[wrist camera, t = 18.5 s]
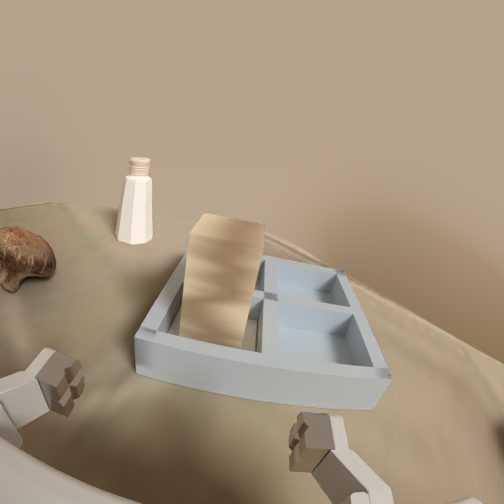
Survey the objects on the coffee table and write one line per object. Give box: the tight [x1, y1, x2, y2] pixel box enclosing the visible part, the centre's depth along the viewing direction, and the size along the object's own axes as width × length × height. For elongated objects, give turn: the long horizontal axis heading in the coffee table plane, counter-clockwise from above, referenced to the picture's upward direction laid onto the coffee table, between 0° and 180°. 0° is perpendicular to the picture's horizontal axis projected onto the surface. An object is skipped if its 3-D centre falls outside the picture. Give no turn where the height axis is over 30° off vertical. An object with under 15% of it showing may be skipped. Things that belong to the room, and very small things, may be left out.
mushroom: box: [0, 227, 56, 292], centre depth 24 cm, size 8×8×6 cm
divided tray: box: [134, 250, 392, 410], centre depth 27 cm, size 18×18×4 cm
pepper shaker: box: [115, 157, 152, 245], centre depth 38 cm, size 5×5×11 cm
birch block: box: [179, 213, 265, 349], centre depth 22 cm, size 4×4×9 cm
